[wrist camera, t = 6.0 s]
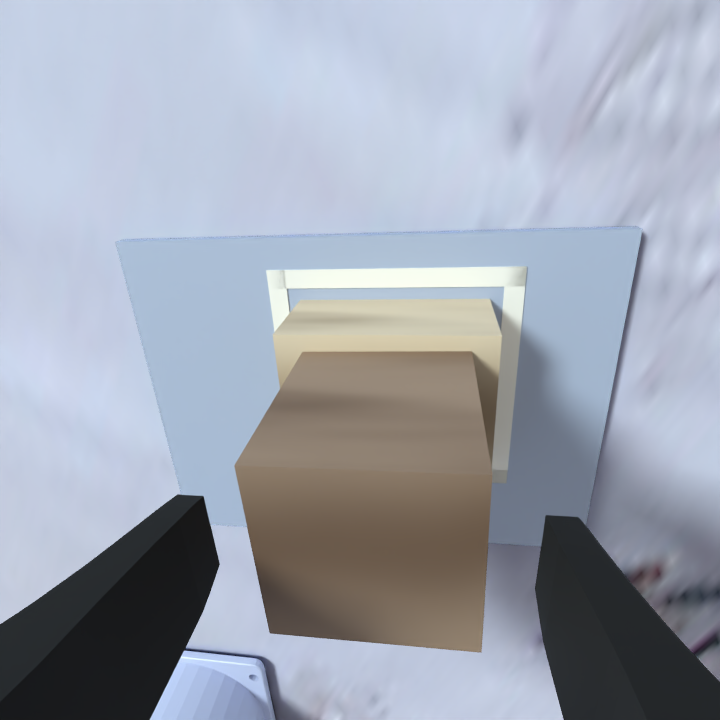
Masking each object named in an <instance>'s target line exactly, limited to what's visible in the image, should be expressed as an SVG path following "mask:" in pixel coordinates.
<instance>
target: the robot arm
mask: <svg viewBox="0 0 720 720" xmlns="http://www.w3.org/2000/svg"><path fill="white" fill-rule="evenodd" d="M219 565H220V564H219V560H218V555H217V551H216V547H215V543H214V538H213V534H212V530H211V526H210V521H209V517H208V513H207V509H206V504H205V500H204V496H195V495H176V496H175V497H174V498H172V499H171V500H169V501H168V502H167V503H165V504H164V505H163V506H161V507H160V508H159V509H158V510H156V511H155V512H154V513H152V514H151V515H150V516H149V517H147V518H146V519H145V520H143V521H142V522H141V523H140V524H138V525H137V526H136V527H134V528H133V529H132V530H131V531H129V532H128V533H127V534H126V535H124V536H123V537H122V538H120V539H119V540H118V541H116V542H115V543H114V544H113V545H111V546H110V547H109V548H107V549H106V550H105V551H103V552H102V553H101V554H100V555H98V556H97V557H96V558H94V559H93V560H92V561H90V562H89V563H88V564H86V565H85V566H84V567H82V568H81V569H79V570H78V571H77V572H75V573H74V574H73V575H71V576H70V577H68V578H67V579H66V580H64V581H63V582H61V583H60V584H59V585H57V586H56V587H54V588H53V589H52V590H50V591H49V592H47V593H46V594H45V595H43V596H42V597H40V598H39V599H38V600H36V601H35V602H33V603H32V604H30V605H29V606H27V607H26V608H24V609H23V610H22V611H20V612H18V613H17V614H15V615H14V616H12V617H11V618H9V619H8V620H6V621H5V622H3V623H2V624H0V720H275V715H274V710H273V706H272V701H271V696H270V691H269V686H268V682H267V677H266V672H265V667H264V664H263V663H262V662H261V661H260V660H258V659H256V658H249V657H239V656H230V655H221V654H212V653H202V652H193V651H184V650H185V648H186V646H187V644H188V642H189V639H190V637H191V635H192V633H193V631H194V629H195V627H196V625H197V623H198V621H199V619H200V617H201V615H202V612H203V610H204V607H205V605H206V602H207V599H208V597H209V594H210V591H211V588H212V585H213V582H214V579H215V576H216V573H217V570H218V568H219ZM535 591H536V598H537V604H538V611H539V618H540V624H541V630H542V636H543V642H544V646H545V650H546V654H547V658H548V662H549V666H550V670H551V673H552V677H553V681H554V685H555V689H556V692H557V696H558V700H559V704H560V707H561V711H562V715H563V718H564V720H720V682H719V681H718V680H717V679H716V678H715V676H714V675H713V674H712V673H711V672H710V671H709V670H708V669H707V668H706V667H705V666H704V665H703V664H702V663H701V662H700V661H699V660H698V658H697V657H696V656H695V655H694V654H693V653H692V652H691V651H690V650H689V649H688V648H687V647H686V646H685V645H684V643H683V642H682V641H681V640H680V639H679V638H678V637H677V636H676V635H675V633H674V632H673V631H672V630H671V629H670V628H669V627H668V626H667V625H666V623H665V622H664V621H663V620H662V619H661V618H660V616H659V615H658V614H657V613H656V612H655V611H654V609H653V608H652V607H651V606H650V605H649V604H648V602H647V601H646V600H645V599H644V598H643V597H642V595H641V594H640V593H639V592H638V591H637V590H636V588H635V587H634V586H633V585H632V584H631V582H630V581H629V580H628V579H627V577H626V576H625V575H624V574H623V573H622V571H621V570H620V569H619V568H618V566H617V565H616V564H615V563H614V561H613V560H612V559H611V558H610V556H609V555H608V554H607V552H606V551H605V550H604V549H603V547H602V546H601V545H600V543H599V542H598V541H597V540H596V538H595V537H594V536H593V534H592V533H591V532H590V530H589V529H588V528H587V526H586V525H585V524H584V523H583V521H582V520H581V519H580V518H579V517H571V516H553V515H546V516H545V523H544V530H543V537H542V544H541V551H540V558H539V565H538V572H537V579H536V586H535Z"/></svg>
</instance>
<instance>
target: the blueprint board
mask: <svg viewBox="0 0 720 720" xmlns="http://www.w3.org/2000/svg"><path fill="white" fill-rule="evenodd" d="M642 230H643V229H642V228H639V227H637V226H635V227H597V228H558V229H519V230H480V231H441V232H403V233H364V234H325V235H286V236H248V237H209V238H170V239H131V240H120V241H117V242H115V243H116V247H117V251H118V254H119V258H120V262H121V266H122V270H123V274H124V277H125V281H126V285H127V289H128V293H129V296H130V300H131V304H132V308H133V312H134V316H135V319H136V323H137V327H138V331H139V335H140V339H141V342H142V346H143V350H144V354H145V358H146V361H147V365H148V369H149V373H150V377H151V381H152V384H153V388H154V392H155V396H156V400H157V403H158V407H159V411H160V415H161V419H162V423H163V426H164V430H165V434H166V438H167V442H168V446H169V449H170V453H171V457H172V461H173V465H174V468H175V472H176V476H177V480H178V484H179V488H180V491H181V495H195V496H204V500H205V504H206V509H207V513H208V517H209V521H210V525H224V526H239V527H247V524H246V519H245V514H244V509H243V505H242V500H241V495H240V491H239V486H238V481H237V476H236V472H235V467H234V465H235V463H236V462H237V460H238V458H239V457H240V455H241V453H242V452H243V450H244V448H245V447H246V445H247V443H248V442H249V440H250V438H251V437H252V435H253V433H254V432H255V430H256V428H257V427H258V425H259V423H260V422H261V420H262V418H263V417H264V415H265V413H266V412H267V410H268V408H269V407H270V405H271V403H272V402H273V400H274V398H275V397H276V395H277V393H278V392H279V390H280V385H279V378H278V371H277V364H276V356H275V349H274V342H273V334H274V332H275V331H276V330H277V328H278V327H279V326H280V325H281V323H282V322H283V321H284V320H285V318H286V317H287V316H288V315H289V313H290V312H291V311H292V310H293V308H294V307H295V306H296V305H297V303H298V302H299V301H300V300H365V299H490V300H491V304H492V307H493V310H494V313H495V316H496V319H497V322H498V325H499V328H500V331H501V334H502V343H501V355H500V368H499V381H498V394H497V407H496V420H495V432H494V445H493V458H492V490H491V506H490V522H489V538H488V543H494V544H509V545H524V546H539V547H541V544H542V537H543V530H544V523H545V516H546V515H553V516H571V517H579V518H580V519H581V520H582V521H583V523H584V524H585V525H586V523H587V517H588V512H589V507H590V502H591V497H592V491H593V486H594V481H595V476H596V470H597V465H598V460H599V455H600V449H601V444H602V439H603V434H604V429H605V423H606V418H607V413H608V408H609V402H610V397H611V392H612V387H613V381H614V376H615V371H616V366H617V361H618V355H619V350H620V345H621V340H622V334H623V329H624V324H625V319H626V314H627V308H628V303H629V298H630V293H631V287H632V282H633V277H634V272H635V266H636V261H637V256H638V251H639V246H640V240H641V235H642Z"/></svg>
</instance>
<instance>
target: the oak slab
mask: <svg viewBox="0 0 720 720" xmlns="http://www.w3.org/2000/svg"><path fill="white" fill-rule="evenodd" d="M273 342H274V349H275V356H276V364H277V371H278V378H279V385H280V388H281V387H282V385H283V383H284V382H285V380H286V378H287V377H288V375H289V373H290V372H291V370H292V368H293V367H294V365H295V363H296V362H297V360H298V358H299V357H300V355H301V353H302V352H385V351H472V355H473V361H474V367H475V373H476V379H477V385H478V391H479V397H480V403H481V409H482V415H483V421H484V427H485V433H486V439H487V445H488V451H489V457H490V463H491V469H492V458H493V445H494V432H495V420H496V407H497V394H498V381H499V368H500V355H501V343H502V334H501V331H500V328H499V325H498V322H497V319H496V316H495V313H494V310H493V307H492V304H491V300H490V299H365V300H300V301H299V302H298V303H297V305H296V306H295V307H294V308H293V310H292V311H291V312H290V313H289V315H288V316H287V317H286V318H285V320H284V321H283V322H282V323H281V325H280V326H279V327H278V328H277V330H276V331H275V332H274V334H273Z"/></svg>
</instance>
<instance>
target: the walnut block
mask: <svg viewBox="0 0 720 720" xmlns="http://www.w3.org/2000/svg"><path fill="white" fill-rule="evenodd" d="M234 467H235V472H236V476H237V481H238V486H239V491H240V495H241V500H242V505H243V509H244V514H245V519H246V524H247V528H248V533H249V538H250V542H251V547H252V552H253V556H254V561H255V566H256V571H257V575H258V580H259V585H260V589H261V594H262V599H263V604H264V608H265V613H266V618H267V622H268V627H269V632H270V633H272V634H283V635H294V636H305V637H316V638H327V639H338V640H349V641H360V642H371V643H382V644H393V645H404V646H415V647H426V648H437V649H448V650H460V651H471V652H481V649H482V634H483V618H484V602H485V586H486V570H487V554H488V538H489V522H490V506H491V490H492V469H491V463H490V457H489V451H488V445H487V439H486V433H485V427H484V421H483V415H482V409H481V403H480V397H479V391H478V385H477V379H476V373H475V367H474V361H473V355H472V351H385V352H302V353H301V355H300V357H299V358H298V360H297V362H296V363H295V365H294V367H293V368H292V370H291V372H290V373H289V375H288V377H287V378H286V380H285V382H284V383H283V385H282V387H281V388H280V390H279V392H278V393H277V395H276V397H275V398H274V400H273V402H272V403H271V405H270V407H269V408H268V410H267V412H266V413H265V415H264V417H263V418H262V420H261V422H260V423H259V425H258V427H257V428H256V430H255V432H254V433H253V435H252V437H251V438H250V440H249V442H248V443H247V445H246V447H245V448H244V450H243V452H242V453H241V455H240V457H239V458H238V460H237V462H236V463H235V465H234Z"/></svg>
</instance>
